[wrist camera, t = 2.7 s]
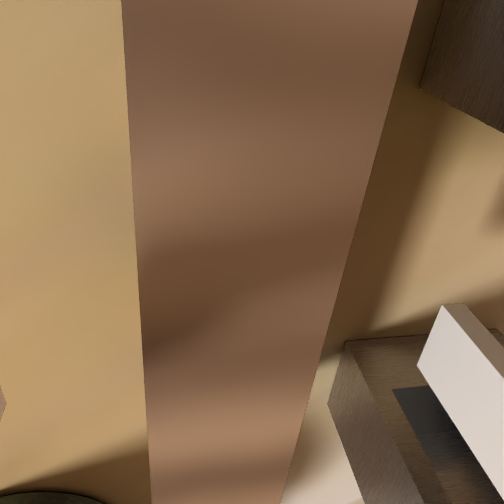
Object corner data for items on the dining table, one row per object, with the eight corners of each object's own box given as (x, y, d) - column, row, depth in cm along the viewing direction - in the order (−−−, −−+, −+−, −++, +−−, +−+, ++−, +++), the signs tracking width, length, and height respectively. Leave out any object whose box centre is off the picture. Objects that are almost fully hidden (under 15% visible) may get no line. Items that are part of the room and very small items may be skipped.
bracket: (346, 340, 21) (461, 580, 13) (497, 329, 23) (683, 535, 15) (327, 404, 24) (413, 633, 16) (463, 389, 26) (604, 590, 18)
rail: (135, -50, 11) (118, -50, 6) (317, -27, 12) (422, -14, 7) (154, 392, 21) (152, 523, 16) (253, 385, 22) (279, 505, 17)
